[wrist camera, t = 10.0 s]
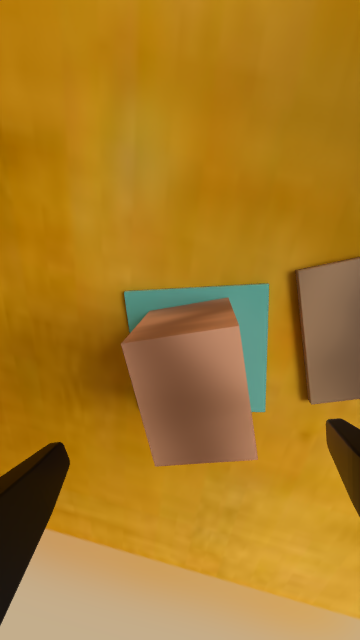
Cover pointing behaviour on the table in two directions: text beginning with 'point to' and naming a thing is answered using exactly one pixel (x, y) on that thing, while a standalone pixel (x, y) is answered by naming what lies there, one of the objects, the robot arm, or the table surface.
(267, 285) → the teal tile
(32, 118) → the table surface
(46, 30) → the table surface
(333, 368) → the walnut coaster
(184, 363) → the terracotta brick
